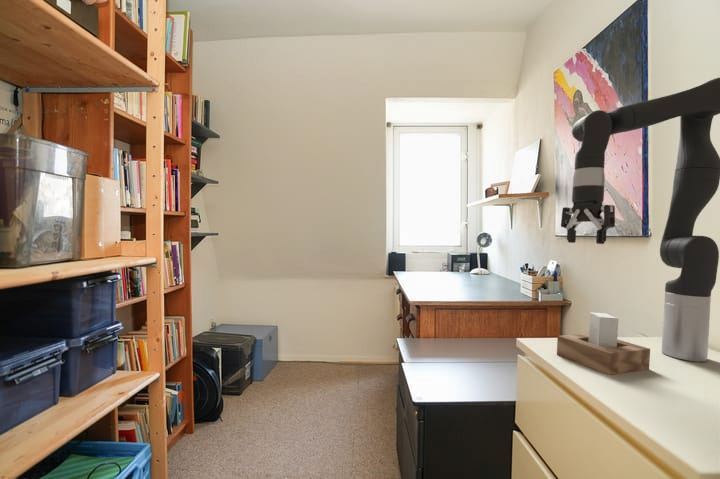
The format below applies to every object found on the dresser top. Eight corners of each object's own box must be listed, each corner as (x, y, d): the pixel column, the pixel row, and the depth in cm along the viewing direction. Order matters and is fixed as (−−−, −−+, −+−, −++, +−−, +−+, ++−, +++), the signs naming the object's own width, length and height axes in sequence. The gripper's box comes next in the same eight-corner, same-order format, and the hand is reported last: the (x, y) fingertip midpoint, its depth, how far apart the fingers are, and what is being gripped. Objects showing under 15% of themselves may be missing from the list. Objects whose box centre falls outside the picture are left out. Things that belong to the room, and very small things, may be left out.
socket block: (594, 350, 99) (594, 332, 99) (649, 369, 86) (650, 348, 86) (556, 354, 95) (557, 335, 94) (609, 374, 81) (610, 353, 81)
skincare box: (616, 366, 87) (619, 318, 87) (597, 364, 88) (600, 317, 87) (604, 358, 93) (607, 313, 93) (586, 356, 94) (589, 311, 93)
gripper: (623, 183, 94) (620, 244, 94) (574, 189, 107) (572, 242, 107) (603, 181, 91) (600, 244, 91) (556, 187, 104) (553, 241, 105)
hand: (585, 243), depth 99 cm, fingers open, 8 cm apart
